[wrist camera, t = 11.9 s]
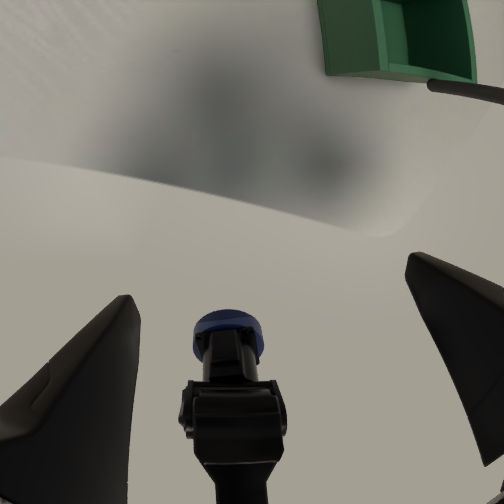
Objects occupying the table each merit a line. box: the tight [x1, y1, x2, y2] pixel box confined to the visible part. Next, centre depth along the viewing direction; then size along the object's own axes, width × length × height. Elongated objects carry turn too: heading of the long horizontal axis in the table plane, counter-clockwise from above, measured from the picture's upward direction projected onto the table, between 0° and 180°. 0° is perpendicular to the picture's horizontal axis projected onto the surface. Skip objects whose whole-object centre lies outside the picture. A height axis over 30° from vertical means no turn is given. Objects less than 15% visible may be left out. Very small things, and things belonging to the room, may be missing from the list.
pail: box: [317, 0, 504, 105], centre depth 9 cm, size 14×8×7 cm
